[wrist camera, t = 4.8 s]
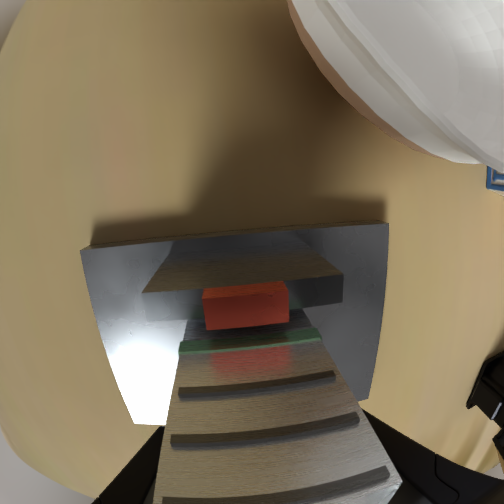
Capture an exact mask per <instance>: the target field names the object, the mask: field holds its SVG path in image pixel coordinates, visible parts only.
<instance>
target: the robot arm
mask: <svg viewBox="0 0 504 504" xmlns="http://www.w3.org/2000/svg"><path fill="white" fill-rule="evenodd" d="M475 405H477V406H478V407H479V408H480V409H481V410H482V411H483V412H484V413H485V414H486V416H487V417H488V418H489V419H490V420H494V421H495V422H496V423H497V424H498V425H499V426H500V427H501V428H502V429H501V430H500V431H499V432H498V434H497V435H495V436H494V438H493V439H492V440H493V442H494V443H495V446H496V448H497V450H498V451H499V453H500V455H501V457H502V458H503V460H504V351H503V352H501V353H500V354H498V355H496V356H494V357H492V358H491V359H489V360H487V361H486V362H485V363H484V365H483V367H482V370H481V372H480V375H479V377H478V380H477V382H476V385H475V387H474V389H473V392H472V394H471V396H470V398H469V401H468V403H467V405H466V408H467V409H470V408H472V407H474V406H475ZM361 409H362V408H361ZM362 411H363V412H364V414H365V416H366V418H367V419H368V421H369V423H370V425H371V426H372V428H373V430H374V432H375V433H376V435H377V437H378V438H379V440H380V442H381V444H382V445H383V447H384V449H385V451H386V453H387V454H388V456H389V458H390V460H391V461H392V463H393V465H394V467H395V468H396V470H397V472H398V474H399V476H400V477H401V479H402V481H403V482H402V483H401V485H400V486H399V488H398V489H397V491H396V492H395V494H394V495H393V497H392V498H391V500H390V501H389V502H388V504H504V480H502V479H498V478H494V477H491V476H488V475H485V474H482V473H479V472H476V471H473V470H471V469H468V468H465V467H463V466H460V465H458V464H456V463H454V462H452V461H450V460H448V459H446V458H444V457H442V456H440V455H438V454H435V452H433V451H431V450H429V449H428V448H426V447H424V446H422V445H421V444H419V443H417V442H415V441H414V440H412V439H410V438H409V437H407V436H405V435H404V434H402V433H400V432H399V431H397V430H395V429H394V428H392V427H390V426H389V425H387V424H386V423H384V422H382V421H381V420H379V419H378V418H376V417H374V416H373V415H371V414H370V413H368V412H367V411H365V410H363V409H362ZM164 430H165V426H160V427H159V428H158V429H157V430H156V431H155V432H154V433H153V435H152V436H151V437H150V438H149V439H148V441H147V442H146V443H145V444H144V445H143V446H142V448H141V449H140V450H139V451H138V452H137V453H136V455H135V456H134V457H133V458H132V459H131V460H130V461H129V463H128V464H127V465H126V466H125V467H124V468H123V469H122V471H121V472H120V473H119V474H118V475H117V476H116V477H115V479H114V480H113V481H112V482H111V483H110V484H109V485H108V486H107V487H106V489H105V490H104V491H103V492H102V493H101V494H100V495H99V497H97V498H96V499H95V500H94V502H93V503H92V504H153V498H154V491H155V484H156V477H157V471H158V465H159V458H160V452H161V447H162V441H163V435H164Z"/></svg>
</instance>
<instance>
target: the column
mask: <svg viewBox="0 0 504 504" xmlns="http://www.w3.org/2000/svg"><path fill="white" fill-rule="evenodd" d="M178 355H179V360H178V364H177V369H176V374H175V378H174V383H173V388H172V393H171V398H170V403H169V408H168V413H167V419H166V424H165V430H164V435H163V441H162V447H161V452H160V458H159V465H158V471H157V477H156V484H155V491H154V498H153V504H388V502H389V501H390V500H391V498H392V497H393V495H394V494H395V492H396V491H397V489H398V488H399V486H400V485H401V483H402V482H403V481H402V479H401V477H400V476H399V474H398V472H397V470H396V468H395V467H394V465H393V463H392V461H391V460H390V458H389V456H388V454H387V453H386V451H385V449H384V447H383V445H382V444H381V442H380V440H379V438H378V437H377V435H376V433H375V432H374V430H373V428H372V426H371V425H370V423H369V421H368V419H367V418H366V416H365V414H364V412H363V411H362V409H361V407H360V406H359V404H358V402H357V400H356V399H355V397H354V395H353V393H352V392H351V390H350V388H349V387H348V385H347V383H346V382H345V380H344V378H343V376H342V375H341V373H340V371H339V370H338V368H337V366H336V365H335V363H334V361H333V359H332V358H331V356H330V354H329V353H328V351H327V349H326V348H325V346H324V344H323V343H322V336H321V335H320V333H319V331H318V330H317V328H316V327H315V328H314V327H313V326H312V324H311V322H310V321H309V319H308V317H307V316H306V314H305V312H304V311H303V309H302V308H300V309H292V310H289V322H285V323H277V324H269V325H260V326H250V327H240V328H229V329H217V330H207V329H206V323H205V318H202V319H188V320H187V324H186V328H185V333H184V337H183V341H180V345H179V349H178Z"/></svg>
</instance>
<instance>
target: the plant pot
mask: <svg viewBox="0 0 504 504" xmlns="http://www.w3.org/2000/svg"><path fill="white" fill-rule="evenodd" d="M497 453H498V456H499V460H500V463H501V467H502V470H503V473H504V460H503V458H502V457H501V455H500V453H499V451H498V450H497Z"/></svg>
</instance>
